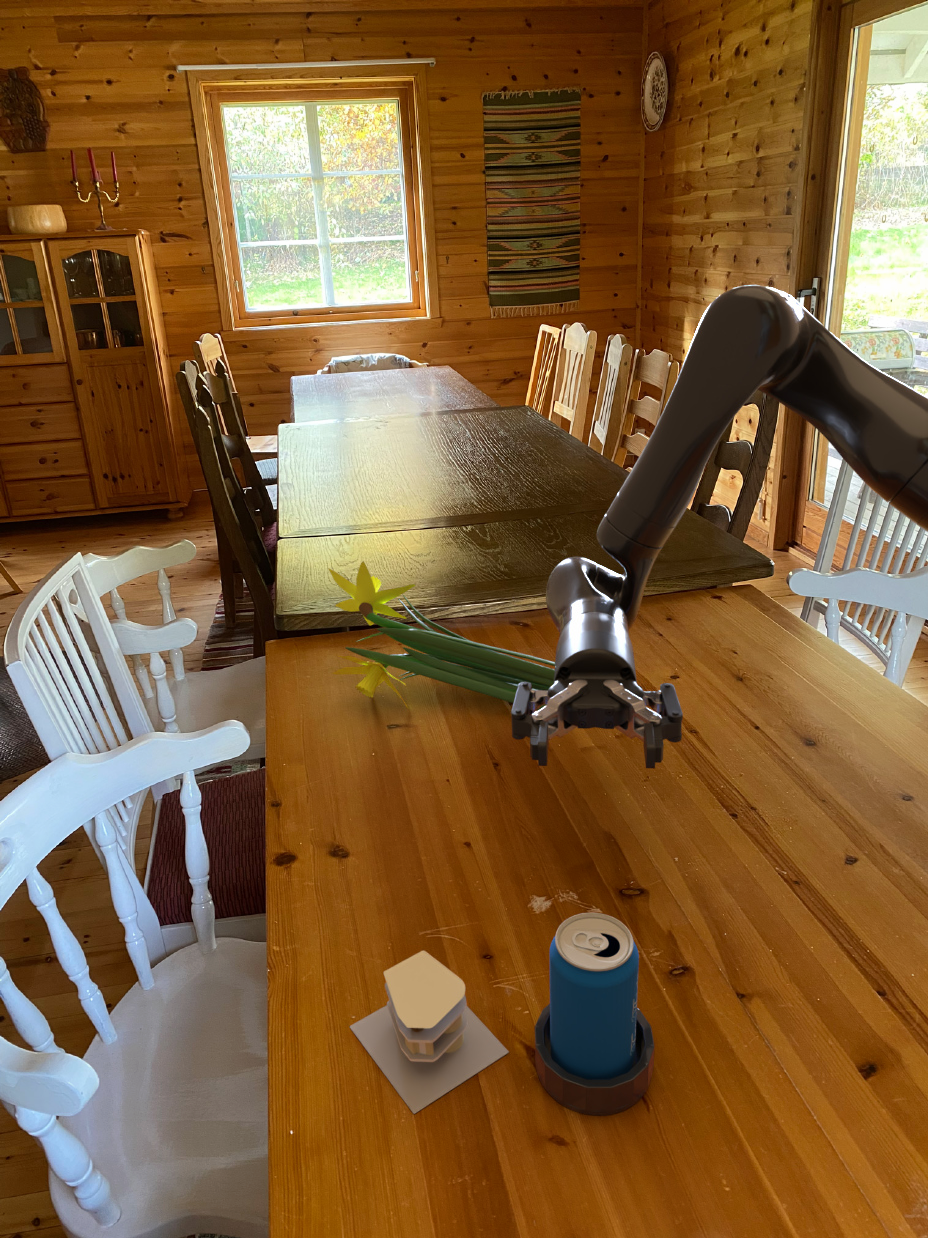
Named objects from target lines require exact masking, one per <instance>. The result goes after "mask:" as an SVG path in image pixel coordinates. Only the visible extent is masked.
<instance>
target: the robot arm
mask: <svg viewBox="0 0 928 1238" xmlns="http://www.w3.org/2000/svg"><path fill="white" fill-rule="evenodd" d="M756 391H759V392H761V393H763V394H765V395H767V397H770V398H772V399H773V400H775V401H777V402H778V403H780V404H781V405H783V406H784V407H786V408H787V409H789V410H791V411H792V412H793V413H795V414H796V415H798V416H800V417H801V418H802V419H804V420H805V421H807V422H808V423H809V424H810V425H811V426H813V428H815V429H816V430H817V431H818V432H819V433H820V434H821V435H822V436H823V437H824V438H825V439H826V440H827V441H828V442H829V444H830V445H831V446H832V448H834V450H835V451H836V452H837V454H839V456H840V457H841V458H842V459H843V461H845V463H846V464H847V465H848V466H849V467H850V468H851V470H853V471H854V473H855V474H856V475H857V476H858V478H860V480H862V481H863V482H864V483H865V485H867V486H868V488H870V489H871V490H872V491H873V492H875V494H876V495H877V496H878V497H880V498H881V499H882V500H883V501H885V502H886V503H888V505H890V506H891V507H893V508H894V509H895V510H897V511H898V512H899V513H901V514H902V515H903V516H904V517H906V518H907V519H908V520H909V521H910V522H912V523H913V524H915V525H916V526H918V527H919V528H920V529H921V530H924V531H925V532H926V533H928V397H927V396H925V395H924V394H923V393H920V392H919V391H917V390H915V389H914V388H912V387H910V386H908V385H907V384H905V383H904V382H901V381H899V380H898V379H896V378H894V377H892V376H890V375H888V374H887V373H886V372H884V371H883V372H882V371H881V370H880V369H878V368H876V367H874V366H873V365H871V364H869V362H867V361H866V360H864V359H863V358H861V356H859V355H858V354H857V353H856V352H854V351H853V350H851V349H850V348H849V347H848V346H847V345H846V344H845V343H843V342H842V341H841V340H840V338H838V337H836V336H835V334H833V333H832V332H830V331H829V329H827V328H826V327H825V326H824V325H823V324H822V323H821V322H820V321H819V320H818V319H817V318H816V317H815V316H814V315H813V314H811V313H810V312H809V311H808V310H807V309H806V308H805V307H804V306H803V305H802V304H801V303H800V302H799V301H798V300H797V299H795V297H793V296H792V295H791V294H788V293H787V292H785V291H783V290H780V289H778V288H774V287H769V286H764V285H758V284H748V285H747V284H746V285H740V286H737V287H733V288H730V289H728V290H726V291H724V292H722V293H721V294H719V296H717V297H716V298H715V299H714V300H713V301H712V302H711V303H710V304H709V305H708V306H707V307H706V309H705V311H704V312H703V314H702V317H701V318H700V321H699V322H698V326H697V328H696V330H695V332H694V336H693V338H692V340H691V343H690V345H689V348H688V351H687V353H686V356H685V358H684V361H683V364H682V365H681V369H680V371H679V374H678V376H677V379H676V381H675V384H674V386H673V389H672V390H671V393H670V395H669V397H668V400H667V402H666V404H665V407H664V409H663V411H662V413H661V415H660V417H659V419H658V420H657V423H656V425H655V427H654V429H653V430H652V433H651V435H650V437H649V439H648V441H647V443H646V444H645V445H644V448H643V450H642V451H641V453H640V455H639V456H638V458H637V460H636V462H635V464H634V466H633V467H632V469H631V470H630V472H629V473H628V474H627V477H626V479H625V480H624V482H623V484H622V485H621V487H620V489H619V491H618V492H617V494H616V495H615V498H614V499H613V501H612V502H611V504H610V506H609V507H608V509H607V511H606V512H605V514H604V516H603V518H602V520H601V521H600V523H599V525H598V528H597V531H596V540H597V543H598V544H599V546H600V547H601V549H603V551H604V552H605V553H607V554H608V555H609V556H610V557H611V558H612V559H614V560H615V561H616V562H617V563H619V565H620V566H621V567H622V568H623V569H624V572H623V573H622V574H619V573H617V572H615V571H613V570H611V569H609V568H607V567H605V566H603V565H600V564H598V563H596V562H595V561H593V560H590V559H589V558H586V557H583V556H570V557H567V558H565V559H563V560H562V561H561V562H559V563H558V564H556V566H555V567H554V569H553V570H552V571H551V573H550V574H549V577H548V581H547V583H546V587H545V588H546V589H545V602H546V609H547V613H548V614H549V615H550V618H551V620H552V622H553V624H554V625H555V628H556V629H557V631H558V633H559V635H558V636H559V638H558V641H557V645H556V650H555V660H554V662H555V666H554V670H555V674H554V684H553V685H552V686H551V687H550V688H549V689H548V691H543V690H532V684H531V683H530V682H521V683H519V684H518V688H517V692H516V695H515V699H514V703H512V706H511V711H510V713H511V715H510V716H511V736H512V737H511V738H512V739H514V740H518V741H519V740H524V739H526V738H529V752H530V753H529V755H530V758H531V760H532V761H538V762H537V763H538V764H537V766H538V767H548V761H549V759H548V758H549V745H550V743H549V742H550V740H552V739H553V738H555V737H557V738H562V737H564V736H565V735H567V734H568V733H570V732H572V731H573V730H575V729H576V728H577V729H593V728H594V729H595V728H597V729H603V730H617V731H619V732H620V733H622V734H623V735H624V736H626V737H628V738H629V739H634V738H637V739H639V741H641V742H643V744H642V745H643V754H644V764H645V769H656V763H657V764H660V763H662V762H663V760H664V746H665V745H664V740H667V741H668V742H671V743H679V742H681V741H682V740H683V738H682V737H683V733H682V726H683V720H684V719H683V717H684V713H683V710H682V706H681V704H680V701H679V697H678V694H677V690H676V687H675V685H674V684H673V683H669V682H663V683H661V684H660V685H659V690H657V691H656V690H655V691H651V690H650V691H644V690H643V688H642V687H641V686H640V685H638V682H637V673H636V671H637V670H636V664H635V653H634V647H633V643H632V641H631V637H630V632H629V631H630V629H632V627H633V626H634V624H635V622H636V620H637V618H638V616H639V612H640V608H641V606H642V600H643V597H644V592H645V589H646V586H647V583H648V580H649V577H650V575H651V573H652V572H651V571H652V569H653V567H654V564H655V562H656V560H657V558H658V556H659V555H660V552H662V549H663V547H664V546H665V545H666V543H667V541H668V540H669V539H670V537H671V535H672V534H673V532H674V530H675V529H676V527H677V525H678V524H679V522H680V521H681V519H682V518H683V516H684V514H685V512H686V510H687V509H688V507H689V505H690V503H691V501H692V499H693V496H694V495H695V493H696V490H697V488H698V486H699V483H700V481H701V478H702V476H703V473H704V471H705V468H706V466H707V464H708V461H709V459H710V457H711V454H712V453H713V452H714V449H715V448H716V446H717V444H718V442H719V440H720V439H721V437H722V435H723V434H724V432H725V431H726V429H727V427H728V426H729V425H730V423H731V422H732V420H733V419H734V418H735V416H736V415H737V414H738V413H739V411H740V410H741V409H742V408H743V407H744V405H745V404H746V403H747V402H748V401H749V400H750V398H752V396H753V395H754V394H755V393H756ZM545 704H547V705H546V706H545V707H543V708H542V709H540V710H539V711H537V709H539V708H540V706H542V705H545Z"/></svg>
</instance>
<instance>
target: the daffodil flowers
mask: <svg viewBox="0 0 928 1238" xmlns="http://www.w3.org/2000/svg"><path fill="white" fill-rule="evenodd" d="M327 569H328V572H329V573H330V575H331V577H332V579H333V581H334V582H335V583H336V584H337V586H338V587H339V588H340V589H342V590H343V591H344V592H346V593H347V594H348V595H349V596H350V597H351V598H348V599H345V600H342V601H339V602H337V603H336V604H334V606H335V607H337V608H338V609H341V610H342V611H345V612H352V613H353V612H360V614H361V615H362V617H363V618H364V620H365V621H366V623H367V625H368V626H372V625H374V624H375V625H378V626H379V628H376V630H377V631H378V632H376V633H373V634H370V635H367V636H366V637H363V638H360V639H358V640H355V642H361V641H364V640H367V639H370V638H373V637H374V638H375V637H377V636H381V635H385V636H387V637H388V638H391V639H393V640H394V641H396V642H398V643H400V644H402V645H404V646H403V647H402V649H403V650H404V651H405V652H406V653H401V654H400V653H399V654H391V653H390V654H389V653H388V654H387V653H383V652H379V651H374V650H370V649H365V648H358V647H349V646H345V650H348V651H349V652H351V653H353V654H356V655H359V656H361V657H364V658H366V659H369V660H371V661H366V660H364V659H361V658H359V657H356V656H352V655H337V654H336V655H335V657H339V658H341V659H343V660H347V661H350V662H353V663H355V664H358V665H360V666H345V667H340V668H339V669H337V670H335V671H333V672H332V673H331V675H343V676H344V675H345V676H346V675H347V676H348V675H365V676H364V677H363V678H362V679H361V680H360V681H359V682H358V683H357V684H356V685H355V686H354V689H356V691H358V693H362V694H361V695H365V697H366V698H367V697H368V698H369V699H370V698H371V699H373V698H374V695H375V692H376V690H377V688H378V687H379V686H380V685H382V683H383V682H384V683H385V684H386V686H388V687H389V688H390V689H391V690H392V691H393V692H394V693H395V694H396V695H397V696H398V697H399V698H400V699H401V700H402V702H403V703H404V706H405V707H406V708H407V710H410V707H409V706H408V705H407V703H406V702H405V700H404V698H403V697H402V695H401V693H400V692H399V691H398V689H397V688H396V687H395V685H394V684H393V683H392V681H391V680H390V678H392V679H393V680H395V681H397V682H400V684H402V685H404V686H405V687H407V684H406V683H405V682H404V681H403V680H405V679H409V678H412V677H416V676H421V677H422V676H423V677H424V678H427V679H431V680H435V681H439V682H442V683H445V684H448V685H452V686H454V687H458V688H462V689H464V690H469V691H472V692H475V693H478V694H481V695H485V696H487V697H488V696H489V697H491V698H494V699H498V700H500V701H501V700H502V701H504V702H508V703H511V704H513V703H514V699H515V695H516V692H517V688H518V684H519V683H521V682H530V683H531V684H532V690H543V691H548V689H549V688H550V687H551V686H552V685H553V684H554V674H555V668H550V667H547V666H544V665H540V664H537V663H534V662H538V663H541V664H545V665H548V666H552V667H555V661H551V660H548V659H543V658H540V657H537V656H533V655H529V654H525V653H522V652H516V651H513V650H508V649H505V648H500V647H497V646H490V645H488V644H484V643H479V642H475V641H472V640H471V639H467V638H465V637H463V636H461V635H459V634H457V633H455V632H452V631H450V630H449V629H447V628H445V627H443V626H441V625H439V624H437V623H435V622H434V621H431V620H430V619H428V618H427V617H425V616H424V615H423V614H422V613H421V612H420V611H418V610H417V609H416V608H415V607H414V605H412V603H411V602H410V601H409V600H408V598H407V597H406V596H405V595H404V593H406V592H408V591H409V590H411V589H412V588H414V587H415V586H416V585H417V584H416V583H410V584H407V585H405V586H400V587H399V586H398V587H392V588H388V589H383V590H380V588H381V586H382V581H381V578H378V576H375V575H372V576H371V573H370V570H369V569H368V566H367V565H366V562H365V561H361V563H360V565H359V567H358V570H357V575H356V580H355V583H356V584H354V582H352V581H350V580H349V579H347V578H346V577H344V576H342V575H341V574H340V573H338V572H336V571H335V570H333V569H331V568H330V567H328V568H327ZM400 596H402V597H403V598H404V599H405V601H406V604H408V606H409V607H410V609H411V610H412V611H413V612H414V613H413V612H412V611H411V610H410V609H409V608H408V607H407V606H406V604H405V603H404V602H403V601H402V600H401V599H400V598H398V597H400ZM396 598H398V601H399V602H400V604H401V605H402V606H403V608H404V610H405V611H406V612H407V613H408V615H409V616H410V617H411V618H412V619H413V621H415V622H416V623H417V624H418V625H419V626H421V627H422V628H419V627H415V626H412V625H408V624H405V623H402V622H399V621H395V620H392V619H389V618H385V617H383V616H380V615H378V614H381V615H384V616H387V617H388V616H389V617H393V618H399V619H403V620H407V616H405V615H402V614H400V613H399V612H398V611H396V610H395V609H393V608H391V607H390V606H389V605H387V604H386V603H388V602H390V601H392V600H394V599H396ZM416 616H417V617H416ZM420 619H421V620H420ZM428 625H429V626H431V627H429V626H428ZM433 628H434V629H433ZM435 629H437V630H438V631H440V632H442V633H440V632H438V631H436V630H435ZM405 646H406V647H405ZM521 658H522V659H521ZM524 659H525V660H524ZM526 659H527V660H530V661H527V660H526ZM373 661H374V662H373ZM531 661H534V662H531ZM389 667H391V668H396V669H398V670H403V671H406V672H405V673H403V674H400V675H398V676H397V677H395V676H394V675H393V674H391V673H390V672H389V671H388V670H387V668H389ZM403 676H404V677H403ZM389 677H390V678H389ZM399 677H402V678H400V679H399ZM546 705H547V704H545V705H542V706H540V708H539V709H537V710H536V712H537V711H539V710H540V709H542V708H543V707H545V706H546Z"/></svg>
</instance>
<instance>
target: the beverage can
mask: <svg viewBox="0 0 928 1238" xmlns="http://www.w3.org/2000/svg"><path fill="white" fill-rule="evenodd" d="M548 953H549V1004H550V1048H551V1055H552V1059H553V1061H555V1062H556V1063H557V1064H558V1065H559V1066H561V1067H562V1068H563V1069H564V1070H566V1071H567V1072H568V1073H570V1074H573V1075H576V1076H579V1077H582V1078H585V1079H596V1080H609V1079H612V1078H614V1077H617V1076H620V1075H622V1074H625V1073H628V1072H629V1071H630V1069H631V1067H632V1065H633V1062H634V1057H635V1037H636V1014H637V1008H638V989H639V987H638V985H639V967H640V965H639V964H640V955H639V949H638V947H637V944H636V942H635V941H634V937H633V934H632V933H631V931H630V929H629V928H628V927H627V926H626V925H625V924H624V923H623V922H622V921H621V920H619V919H617V918H615V917H613V916H611V915H608V914H605V913H599V912H582V913H578V914H575V915H572V916H570V917H568V918H566V919H565V920H563V922H561V924H559V926H558V928H557V930H556V932H555V935H554V936H553V939H552V941H551V943H550V947H549V952H548Z"/></svg>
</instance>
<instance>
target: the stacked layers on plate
mask: <svg viewBox="0 0 928 1238" xmlns="http://www.w3.org/2000/svg"><path fill="white" fill-rule="evenodd" d="M383 976H384V979H385V983H384V989H385V992H386V995H387V997H388V1001H387V1002H386V1005H384V1006H383V1007H381V1008H378V1009H377V1010H376V1011H374V1012H372V1013H370V1014H368V1015H367V1016H365V1017H363V1018H361V1019H360V1020H358V1021H355V1022H354V1023H353V1024H350V1026H349V1028H350V1030H351V1031H352V1032H353V1034H354V1035H355V1037H356V1038H357V1039H358V1041H359V1042H360V1044H361V1045H362V1046H363V1047H364V1049H365V1050H366V1052H367V1053H368V1055H370V1056H371V1058H372V1059H373V1061H374V1062H375V1064H376V1065H377V1066H378V1068H379V1069H380V1071H382V1073H383V1074H384V1076H385V1077H386V1079H387V1080H388V1081H389V1082H390V1084H391V1085H392V1087H393V1088H394V1089H395V1091H396V1092H397V1093H398V1095H399V1096H400V1097H401V1099H402V1100H403V1102H404V1103H405V1104H406V1105H407V1107H408V1109H410V1111H411V1112H412V1114H413V1115H415V1114H417V1113H418V1112H419V1111H421V1110H422V1109H424V1108H426V1107H427V1106H429V1105H430V1104H432V1103H434V1102H435V1101H436V1100H438V1099H439V1098H441V1097H443V1096H444V1095H446V1094H447V1093H449V1092H450V1091H451V1090H454V1089H456V1088H457V1087H458V1086H460V1085H462V1083H465V1082H466V1081H467V1080H469V1079H470V1078H472V1077H473V1076H474V1075H477V1074H478V1073H479V1072H481V1071H482V1070H484V1069H486V1068H487V1067H489V1066H490V1065H492V1064H493V1063H495V1062H497V1061H498V1060H500V1059H502V1058H503V1057H504V1056H505V1055H507V1054H509V1053H510V1051H509V1050H508V1049H507V1048H506V1047H505V1046H504V1044H502V1042H501V1041H500V1040H499V1039H498V1038H497V1036H495V1035H494V1033H492V1032H491V1030H490V1029H489V1028H488V1027H487V1026H486V1025H485V1024H484V1023H483V1022H482V1021H481V1020H480V1018H479V1017H478V1016H477V1015H476V1014H475V1013H474V1012H473V1011H472V1009H471V1008H470V1007H469V1006H468V1005H467V997H466V984H465V982H464V981H463V979H462V978H461V977H459V976H458V975H457V974H455V972H453V971H451V969H449V968H448V967H447V966H445V965H444V964H443V963H442V962H440V961H439V960H437V959H436V958H435V957H433V956H432V955H431V954H430V953H428V952H427V951H426V950H421V951H419V952H417V953H415V954H413V955H411V956H410V957H408V958H406V959H404V960H402V961H401V962H399V963H397V964H395V965H393V966H392V967H390V968H388V969H386V970H384V971H383Z"/></svg>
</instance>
